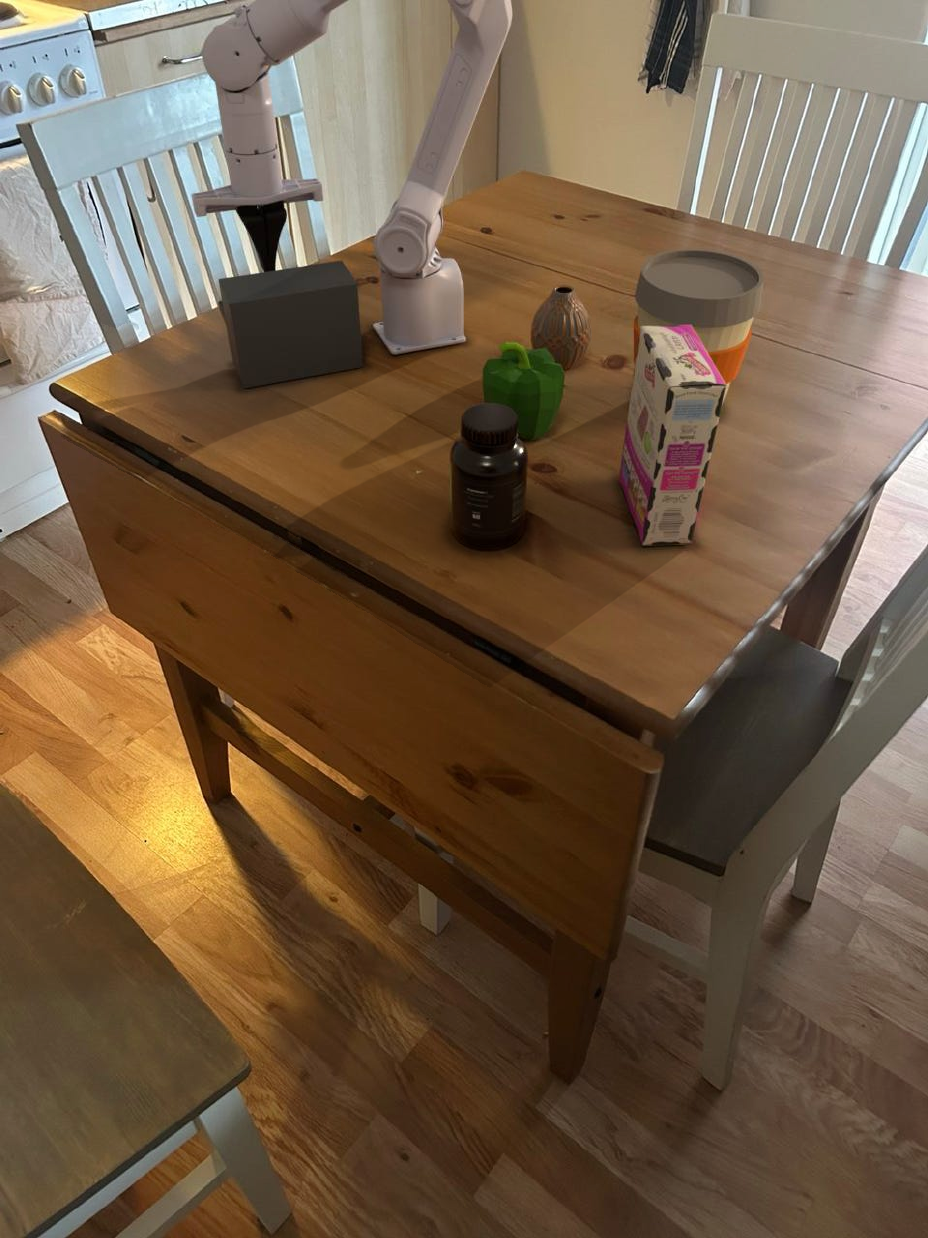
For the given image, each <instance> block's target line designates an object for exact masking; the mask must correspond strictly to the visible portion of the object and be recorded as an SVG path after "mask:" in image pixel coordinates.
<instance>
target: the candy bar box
mask: <svg viewBox="0 0 928 1238" xmlns="http://www.w3.org/2000/svg"><path fill="white" fill-rule="evenodd" d="M726 386H727V385H726V383H725V381H724V379H723V378H722V376H721V374H720V373H719V371H718V369H717V368H716V366H715V365H714V363H713V361H712V359H711V358H710V356H709V354H708V352H707V351H706V349H705V347H704V346H703V344H702V342H701V340H700V339H699V337H698V335H697V334H696V332H695V330H694V328H693V327H692V325H660V326H641V327H640V337H639V343H638V352H637V358H636V365H635V364H634V370H633V377H632V385H631V391H630V399H629V406H628V413H627V420H626V427H625V432H624V439H623V446H622V453H621V461H620V469H619V475H618V481H619V484H620V487H621V489H622V492H623V495H624V498H625V501H626V503H627V506H628V509H629V512H630V515H631V518H632V520H633V522H634V526H635V529H636V531H637V534H638V536H639V537H638V538H639V540H640V543H641V545H642V546H643V547H653V546H655V547H657V546H682V545H683V546H684V545H685V546H686V545H692V543H693V540H694V539H693V538H694V533H695V529H696V524H697V519H698V515H699V512H700V507H701V502H702V498H703V497H702V496H703V493H704V487H705V483H706V478H707V475H708V474H707V473H708V469H709V464H710V461H711V457H712V451H713V447H714V443H715V439H716V435H717V430H718V425H719V420H720V416H721V411H722V407H723V404H724V402H723V398H724V394H725V389H726ZM722 403H723V404H722Z"/></svg>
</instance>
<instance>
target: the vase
mask: <svg viewBox="0 0 928 1238" xmlns="http://www.w3.org/2000/svg"><path fill="white" fill-rule="evenodd" d="M591 335H592V325H591V319H590V316H589V313H588V311H587V309H586V307H585V306H584V305H583V303H582V301H581V300H580V299H579V297H578V295H577V293H576V290H575V288H574V287H572V286H571V285H567V284H559V285H556V286H554V287H553V289H552V290H551V292H550V294H549V296H548V297H546V299H545V300H544V301H543V302H542V303H541V304H540V305H539V307H538V308H537V310H536V311H535V314H534V315H533V319H532V321H531V325H530V343H531V348H532V350H535V349H542V348H546V349H547V350H548V351H549V353H550V354H551V355H552V356H553V358H554V360H555V363H557V364H561V366H562V369H563V370H565V369H569V368H572V367H573V366H575V365H576V364H578V363H579V362H580V361H581V360H582V359H583V358H584V356H585V355H586V353H587V351H588V348H589V345H590V341H591V337H592V336H591Z"/></svg>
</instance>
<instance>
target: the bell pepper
mask: <svg viewBox="0 0 928 1238" xmlns="http://www.w3.org/2000/svg"><path fill="white" fill-rule="evenodd" d="M498 347H499V350H500V351H501V356H500V357H492V358H488V359H487V360H486V363H485V364H484V366H483V368H482V393H483V401H484V403H497V404H502V405H505V406H507V407H510V408H511V409H512V410H514V412H516V415H517V417H518V438H521V439H523V440H529V441H534V440H537V439H540V438H543V437H544V436H545V435H546V434H547V433H548V432H549V430H550V429H551V427H552V426H553V425H554V422H555V420H556V417H557V416H558V415H557V414H558V411H559V409H560V405H561V402H562V400H563V396H564V388H565V378H566V377H565V371H564V369H562V366H561V364H557V363H555V360H554V358H553V356H552V355H551V354H550V353H549V351H548V350H547V349H546V348H542V349H535V350H533V349H527V348H525V346H523V345H522V344H520V343H519V342H516V341H504V342H502V343H500V344H498Z"/></svg>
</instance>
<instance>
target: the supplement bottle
mask: <svg viewBox="0 0 928 1238" xmlns="http://www.w3.org/2000/svg"><path fill="white" fill-rule="evenodd" d="M460 421H461V423H460V424H461V427H460V436H459V437H458V438H457V439H456V440H455V441H454V443H453V444H452V446H451V448H450V451H449V504H450V506H449V508H450V509H449V511H450V512H449V513H450V517H449V518H450V529H451V532H452V534H453V536H454V537H455V538H456V540H458V542H460V543H461V544H463V545H464V546H466V547H468V548H471V549H475V550H480V551H497V550H502V549H504V548H507V547H509V546H512V545H513V544H515V543H516V542H517V541H519V539H520V538H521V536H522V534H523V532H524V530H525V529H524V528H525V520H526V519H525V518H526V502H527V501H526V500H527V483H528V465H529V453H528V450H527V447H526V445H525V444H524V442H523V440H522V439H520V437H519V436H518V417H517V415H516V412H514V410H512V409H511V408H510V407H507V406H505V405H502V404H497V403H485V402H483V403H478V404H473V405H471V406H470V407H467V408H466V410H464V411H463V412H462V414H461V420H460Z"/></svg>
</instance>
